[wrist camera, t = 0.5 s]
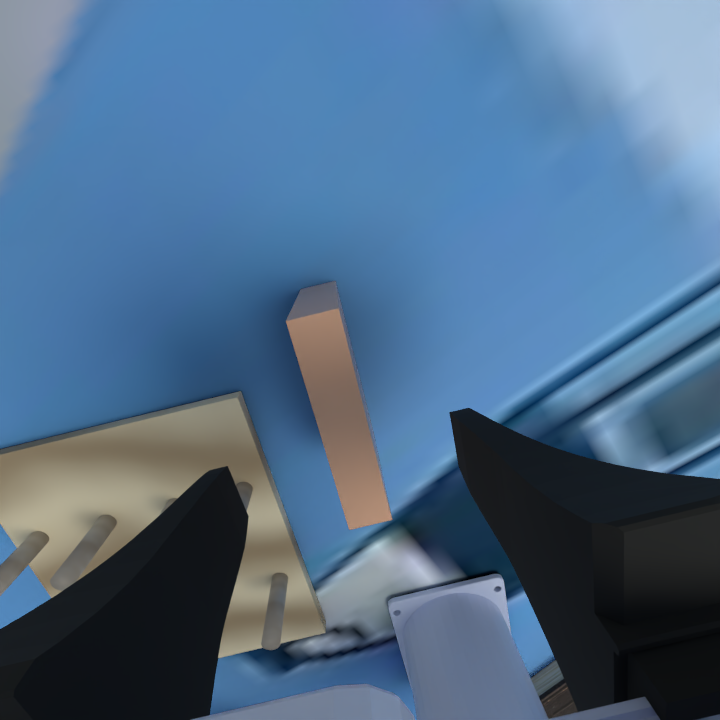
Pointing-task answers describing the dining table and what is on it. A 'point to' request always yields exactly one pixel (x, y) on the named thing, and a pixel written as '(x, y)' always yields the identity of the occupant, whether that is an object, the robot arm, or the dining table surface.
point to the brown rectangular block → (338, 403)
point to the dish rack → (156, 510)
